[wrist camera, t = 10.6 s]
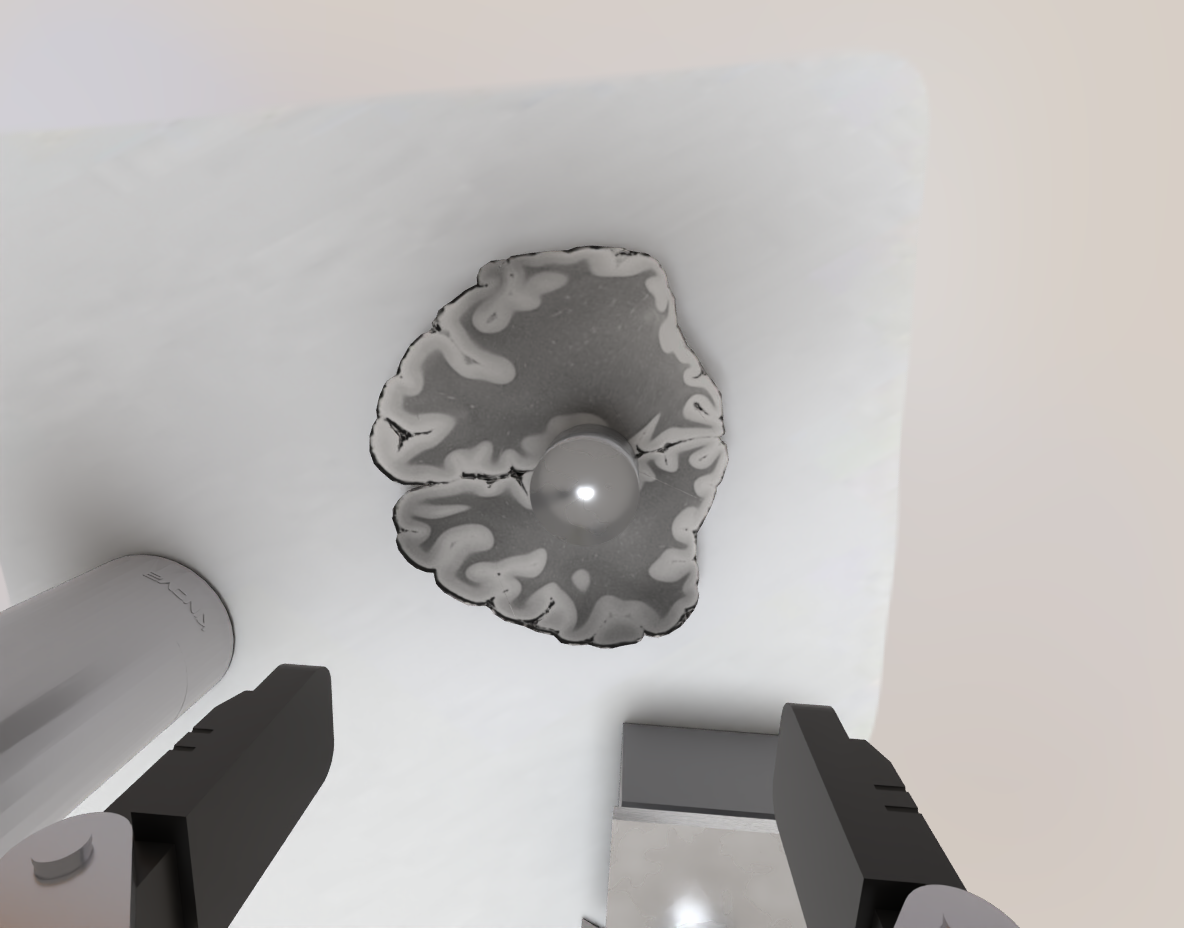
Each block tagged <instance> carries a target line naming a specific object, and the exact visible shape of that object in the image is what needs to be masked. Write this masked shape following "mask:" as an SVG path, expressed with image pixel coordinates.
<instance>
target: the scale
mask: <svg viewBox="0 0 1184 928" xmlns="http://www.w3.org/2000/svg"><path fill="white" fill-rule="evenodd" d="M778 738H779V735H768V734H755V733H742V732H730V731H717V730H704V729H692V728H679V727H666V726H654V725H641V724H628V723H623V737H622V752H621V767H620V783H619V798H618V807H628V808H640V809H651V810H663V811H675V812H687V813H698V814H710V815H722V816H734V817H745V818H757V819H769V820H775V814H774V807H773V777H774V769H775V762H776V754H777V746H778Z"/></svg>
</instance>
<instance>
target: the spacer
mask: <svg viewBox="0 0 1184 928" xmlns="http://www.w3.org/2000/svg"><path fill="white" fill-rule="evenodd" d="M529 492H530V501H531V506H532V509H533V512H534V514H535V516H536V518H537V519H538V521H539V522H540V524H541V525H542V526H543V527H544V528H545V529H546V530H547V531H548V532H549V533H550V534H551V535H553V536H554V537H556V538H558V539H559V540H561V541H564V542H566V543H569V544H573V545H579V546H592V545H598V544H602V543H605V542H607V541H610V540H612V539H613V538H615V537H617V536H618V535H619V534H621V533H622V532H623V531H624V530H625V529H626V528H627V527H628V525H629V524H630V523H631V521H632V520H633V518H634V516H635V514H636V511H637V508H638V504H639V497H640V494H639V465H638V460H637V456H636V454H635V452H634V449H633V448H632V446H631V444H630V443H629V442H628V441H627V439H626V438H624V437H623V436H622V435H621V434H620V433H618V432H617V431H615V430H613V429H612V428H609V427H607V426H604V425H599V424H581V425H577V426H573V427H571V428H569V429H567V430H565V431H564V432H562V433H561V434H560V435H558V436H557V437H556V438H555V439H554V440H553V442H552V443H551V445H550V446H549V448H548V449H547V451H546V452H545V454H544V455H543V457H542V458H541V460H540V461H539V463H538V464H537V466H536V468H535V470H534V472H533V474H532V477H531V482H530V490H529Z"/></svg>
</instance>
